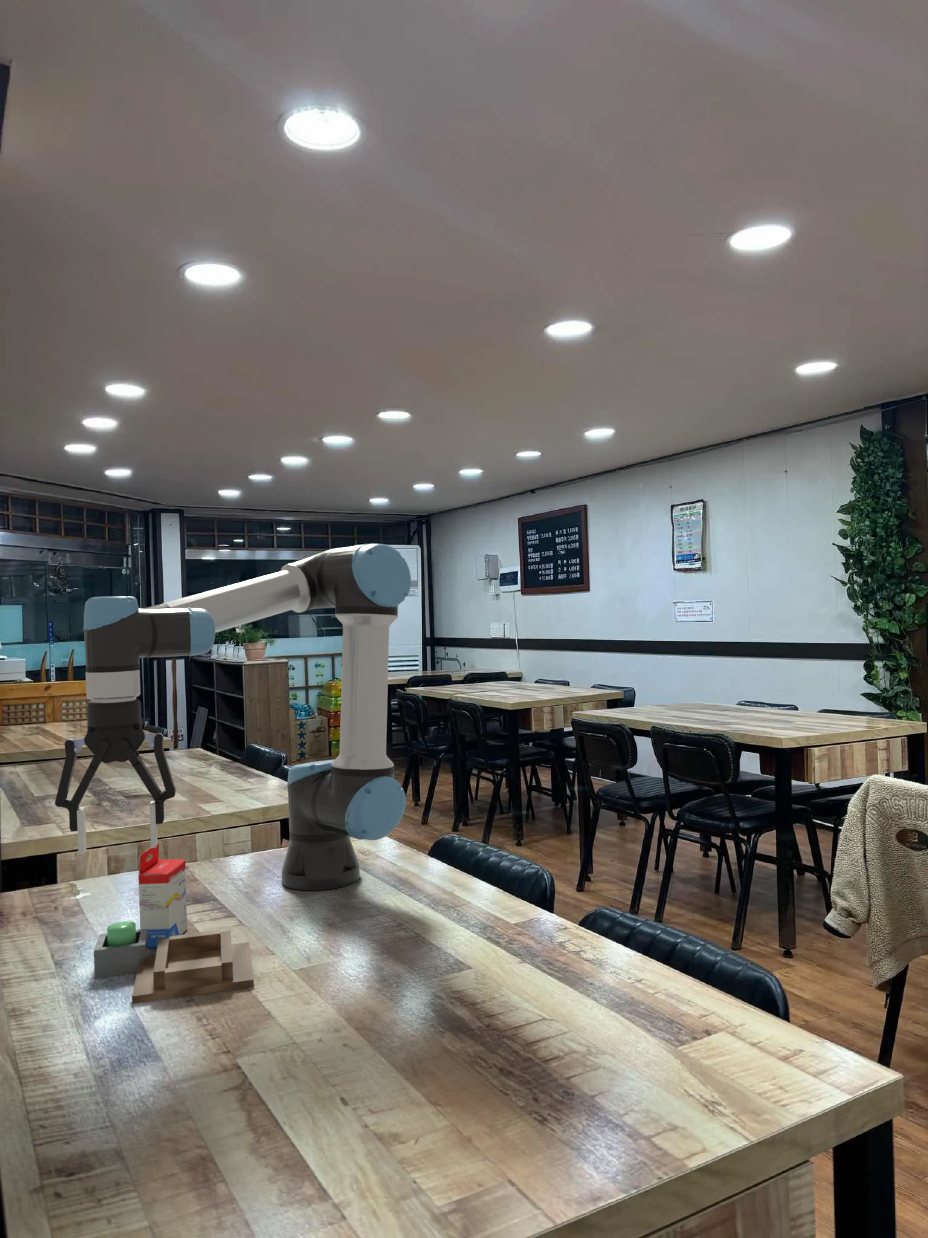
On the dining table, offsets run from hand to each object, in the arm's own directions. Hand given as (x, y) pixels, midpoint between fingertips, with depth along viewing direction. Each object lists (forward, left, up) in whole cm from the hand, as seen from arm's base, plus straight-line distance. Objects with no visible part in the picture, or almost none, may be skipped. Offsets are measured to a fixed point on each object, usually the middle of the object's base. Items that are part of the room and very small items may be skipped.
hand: (118, 849), depth 133 cm
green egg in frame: (0, 0, -18) cm, 18 cm away
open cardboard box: (-11, +7, -18) cm, 22 cm away
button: (0, 0, -14) cm, 14 cm away
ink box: (-6, -10, -18) cm, 21 cm away
